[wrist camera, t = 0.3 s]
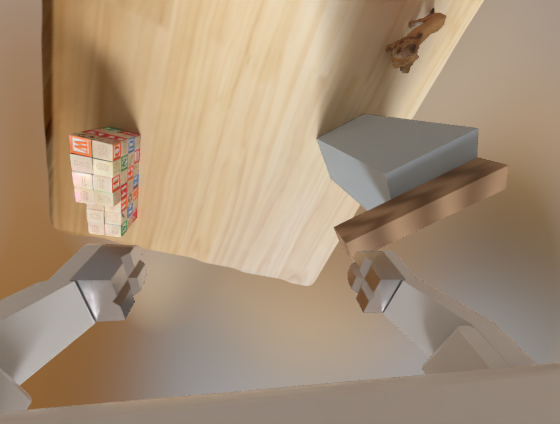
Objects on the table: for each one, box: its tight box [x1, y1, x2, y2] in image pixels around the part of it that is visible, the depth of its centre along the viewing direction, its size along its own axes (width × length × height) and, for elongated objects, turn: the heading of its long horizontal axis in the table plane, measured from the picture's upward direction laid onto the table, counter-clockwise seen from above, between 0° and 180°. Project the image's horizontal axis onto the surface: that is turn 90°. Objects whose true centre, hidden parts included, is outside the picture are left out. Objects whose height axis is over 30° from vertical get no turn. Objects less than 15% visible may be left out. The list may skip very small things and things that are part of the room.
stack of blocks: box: [69, 127, 141, 237], centre depth 45 cm, size 21×6×12 cm, turn 162°
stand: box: [316, 114, 478, 211], centre depth 44 cm, size 13×12×29 cm
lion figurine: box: [386, 8, 446, 73], centre depth 44 cm, size 15×5×9 cm, turn 139°
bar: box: [334, 157, 508, 261], centre depth 30 cm, size 22×4×4 cm, turn 114°
